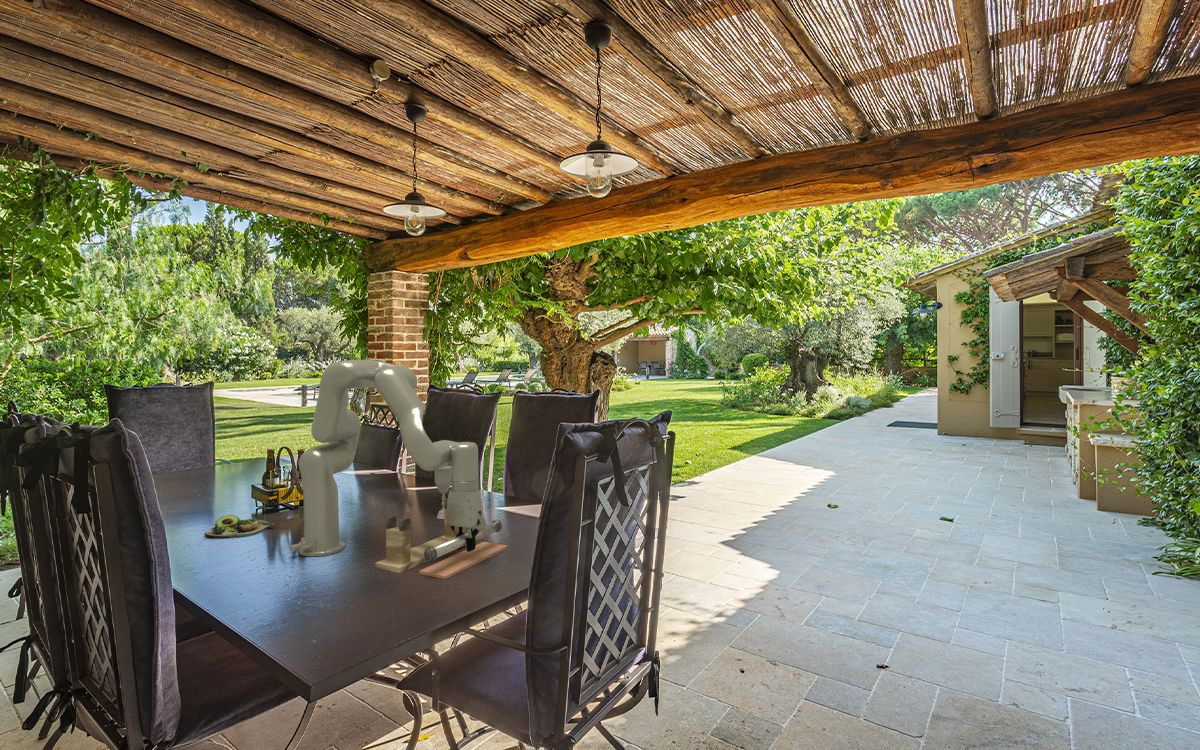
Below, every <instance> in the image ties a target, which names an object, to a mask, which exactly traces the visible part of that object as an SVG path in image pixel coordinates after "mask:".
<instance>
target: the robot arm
mask: <svg viewBox="0 0 1200 750" xmlns="http://www.w3.org/2000/svg"><path fill="white" fill-rule="evenodd" d="M417 377H418V376H417V374H416V373H415V372H414V371H413V370H412V369H411V368H409V367H407V366H404V365H398V364H392V363H389V362H383V361H379V360H375V359H374V360H373V359H351V360H350V359H348V360H341V361H336V362H333V363H331V364H330V365H328V366H327V367H326V368H325V369H324V370H323V372H322V374H321V377H320V382H319V389H318V395H317V401H316V405H315V409H314V414H313V419H312V424H311V430H310V431H311V436H312V438H313V439H314V440H315V441H316V442H318V443H322V444H320V445H316V446H313V447H310V448H307V449H306V450H305V451H304V452H303V453H302V454H301V456H300V457H299V460H298V466H299V467H298V469H299V472H300V477H301V483H302V492H303V493H302V495H303V498H302V499H303V533H304V535H303V537H301V538H300V541H299V542H298V543H294V544H292V545H290V546H289V548H288V549H289V551H290V552H291V553H293V552H297V551H298V553H299V554H300V555H301V556H304V557H322V556H328V555H332V554H333V555H334V554H336V553H338V552H341V551H342V550H343V549H345V546H346V545H345V541H343V540H340V525H339V524H340V521H339V519H340V515H339V513H340V512H339V508H340V507H339V487H338V484H337V482H336V480H335V478H334V475H335V474H338V473H342V472H343V471H346V470H348V469H349V468H350V467H351V466H352V464H353V463H354V460H355V456H356V453H357V447H358V443H359V439H360V435H361V429H362V426H361V419H360V417H359V415H358V413H357V412H355V411H354V410H352V409H350V408H348V405H349V401H350V396H349V391H348V390H353V389H355V390H357V389H367V388H370V389H371V388H374V389H376V390H377V391H378V393H379V395H380V396H381V398H382V399H383V400H384V402H385V404H386V405H387V406H388V408H389V410H390V411H391V412H392V414H393V416H394V417H395V418H396V420H397V421H398V422H399V423H398V424H399V429H400V430H399V431H400V436H401V440H402V443H403V445H404V447H405V449H406V451H407V453H408V454H409V455H410V457H411V459H412V460H413V461H414V463H415V464H416V465H417V466H418V467H419V468H420V469H422V470H424V471H426V472H435V471H434V470H437V469H440V468H442V467H445V466H451V480H450V482H449V484H450V486H451V489H449V490H448V496H447V498H448V501H447V517H446V518H447V522H446V523H447V525H448V526H449V527H451V529H452V530H453V531H454V535H455V536H456V537H459V536H461V535H463V534H465V533H463V531H464V528H466V530H467V533H468V538H467V545H465V546H462V547H460V548H458V549H456V550H457V551H460V550H461V549H464V548H465V547H466V549H467V552H470V551H472V550H474V549H475V548H476V547H475V546H476V545H477V544H476V543H477V542H476V541H477V540H476V536H477V534H478V533H479V532H480V531H482V530H484V529H485V525H486V524H485V523H484V507H483V500H482V498H483V497H482V495H481V494H482V492H481V490H479V489H480V488H479V446H478V445H477V443H475V442H473V441H472V442H471V441H459V442H458V441H453V440H448V439H447V440H446V439H443V440H439V441H434V442H432V439H430V438H429V436H428V434H427V433H426V431H425V428H424V426H423V416H424V414H425V411H426V406H425V403H424V402H423V401H422V400H421V398H420V397H419V395H418V394H417V392H416V391H415V390H416V389H417V386H418V378H417Z"/></svg>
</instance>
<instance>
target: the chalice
mask: <svg viewBox="0 0 1200 750" xmlns="http://www.w3.org/2000/svg"><path fill="white" fill-rule="evenodd" d="M433 472H434V483H435V485H436V488H437V490H438V492H439V493H440V494H441V495H442V496H441V500H442V502H441V503H440V504H441V505H442V508H441V509H440V510H439V511H438V513H437V516H436V518H437V519H440V520H441V519H442V520H444V499H447V498H446V493H447V492H448V493H449V491H450V487H451V485H450V484H449V482H450V480H451V465H448V466H445V467H442V468H440V469H437V470H434V471H433Z"/></svg>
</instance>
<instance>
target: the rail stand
mask: <svg viewBox="0 0 1200 750" xmlns="http://www.w3.org/2000/svg"><path fill="white" fill-rule="evenodd" d="M447 501H448V497H447V498H446V499H444V519H443V520H444V535H443V534H442V535H441V536H439V537H437V538H434V539H431V540H429V541H426V542H424V543H421V544H419V545H417V546H414V547H411V518H410V517H405V518H402V519H400V520H398V522H397V515H391V516H388V517H386V518H385V554H386V558H384V559H381V560H379V561H376V562H375V569H379V570H383V571H388V572H390V573H391V572H392V573H395V574H401V573H403V572H404V573H405V572H406V571H408V570H411V569H412V568H415V567H417V566H420V565H422V564H424V563H426V562H428V561H427V560H426V559H425V557H424V551H425V549H427V548H429V547H435V546H437V545H439V544H442V543H444V542H447V541H449V540H451V539H454V538H456V536H455V535H454V531H453V530H452V529H451V527H449V526H448V525H447V523H446V522H447V518H446V517H447ZM397 523H398V526H397ZM463 533H465V534H466V533H467V528H464V531H463Z"/></svg>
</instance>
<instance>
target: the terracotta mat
mask: <svg viewBox="0 0 1200 750" xmlns="http://www.w3.org/2000/svg"><path fill="white" fill-rule="evenodd" d="M475 547H476V548H475V549H474V550H472V551H470V552H467V548H466V549H465V550H462V551H459V552H458V553H455V554H453V555H451V556H449V557H447V558H444V559H443V560H441V561H438V562H435V563H433V564H431V565H430V566H426V567H425V568H422V569H420V570H419V572H418V574H419V575H422V576H423V575H424V576H426V577H427V576H428V577H433V578H438V579H442V580H447V579H449V578H450V577H453V576H455V575H457V574H458V573H461V572H463V571H465V570H467V569H470V568H471V567H473V566H474V565H475V566H476V565H477V564H479V563H481V562H483V561H485V560H486V559H490V558H492V557H493V556H495V555H497V554H499V553H501V552H503V551H505V550H507V549H508V548H509V547H508V545H507V544H501V543H493V542H487V541H482V542H480V543H478V544H476V546H475Z"/></svg>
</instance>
